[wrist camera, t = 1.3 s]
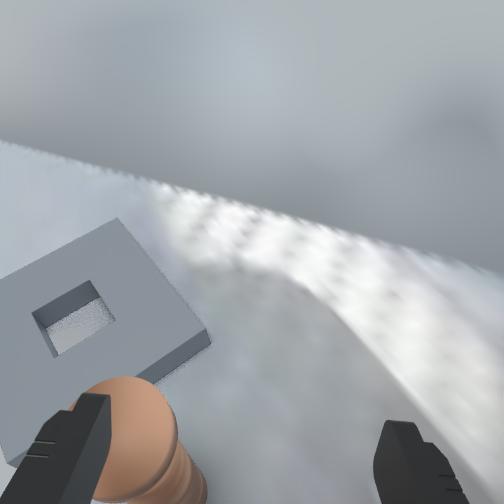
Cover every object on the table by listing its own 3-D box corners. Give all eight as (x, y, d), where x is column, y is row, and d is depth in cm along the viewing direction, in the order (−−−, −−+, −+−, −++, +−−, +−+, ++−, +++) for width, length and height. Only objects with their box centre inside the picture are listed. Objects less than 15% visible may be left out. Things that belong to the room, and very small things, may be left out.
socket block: (125, 235, 51) (117, 217, 48) (210, 343, 41) (205, 328, 39) (-32, 321, 44) (-49, 305, 42) (25, 472, 35) (6, 463, 32)
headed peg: (190, 440, 36) (138, 356, 23) (229, 501, 33) (192, 441, 20) (129, 487, 34) (38, 422, 22) (165, 557, 31) (83, 526, 19)
